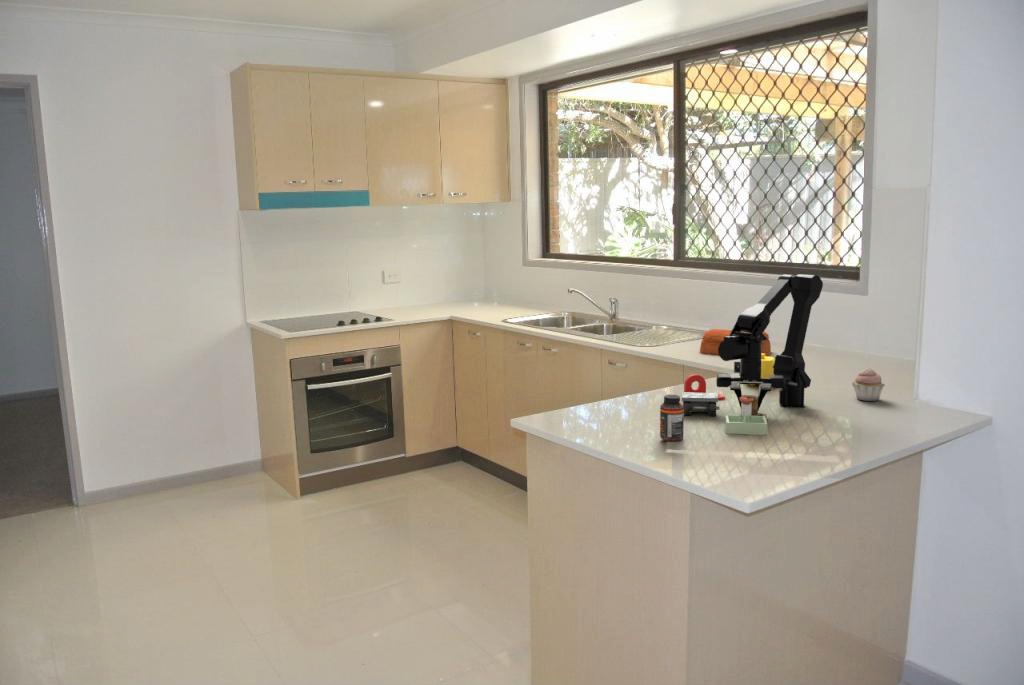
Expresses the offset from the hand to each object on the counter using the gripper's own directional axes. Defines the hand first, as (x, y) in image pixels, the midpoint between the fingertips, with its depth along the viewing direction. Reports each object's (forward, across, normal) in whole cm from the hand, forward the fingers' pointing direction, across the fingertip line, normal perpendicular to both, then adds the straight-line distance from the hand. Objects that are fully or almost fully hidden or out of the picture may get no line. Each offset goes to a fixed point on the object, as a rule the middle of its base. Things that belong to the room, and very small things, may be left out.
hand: (749, 410), depth 232 cm
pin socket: (+1, -1, +10) cm, 10 cm away
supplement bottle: (+1, +21, +29) cm, 36 cm away
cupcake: (+1, -36, -24) cm, 43 cm away
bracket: (+1, +12, -17) cm, 21 cm away
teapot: (+1, -6, -40) cm, 41 cm away
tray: (+1, +2, +18) cm, 18 cm away
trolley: (+1, +14, +1) cm, 14 cm away
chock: (+1, 0, 0) cm, 1 cm away
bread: (+2, 0, -96) cm, 96 cm away
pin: (0, +2, +18) cm, 18 cm away
